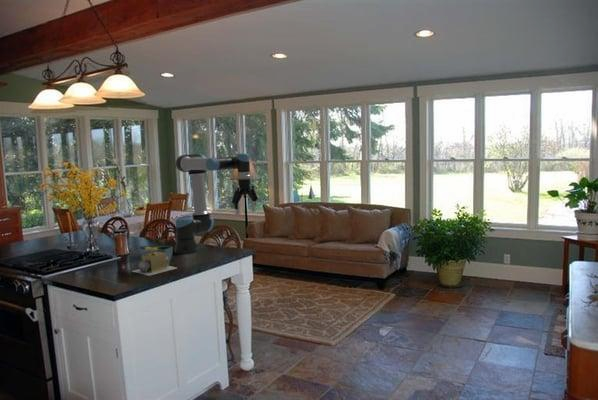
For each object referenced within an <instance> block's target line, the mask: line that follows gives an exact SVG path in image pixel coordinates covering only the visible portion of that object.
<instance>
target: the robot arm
mask: <svg viewBox="0 0 598 400" xmlns="http://www.w3.org/2000/svg"><path fill="white" fill-rule="evenodd" d="M175 168H176V169H177V170H178V171H180V172H181V173H188V176H190V181H191V190H192V201H193V212H192V213H191V215H185V216H179V217H178V218H176V220H175V235H176V243H175V246H174V247H175V248H174V253H175V254H179V255H185V254H192V253H193V254H194V253H196V252H198V251H199V247H198V245H197V242H196V240H195V235H199V234H203V233H204V234H206V233H208V232H211V231H212V230H213V228H214V225H215V224H214V223H215V221H214V218H213V216H212V215H210V212H209V211H208V208H207V207H208V206H207V197H206V196H207V195H206V184H205V175H207V171H212V172H214V171H215V172H216V171H224V170H237V178H238V179H237V184H238V187H235V188H234V194H233V197H232V200H231V203H232V204H234V209H235V215H238V216H240V215H241V214H240V213H241V211H240V210H241V209H240V203H239V202H240V201H241V199H242V197H243V195H246V194H247V196H248V197H249V199H250V200H251V201H250V205H251V206H250V208H251V210H250V211H251V212H254V213H255V212H256V202H257V201H258V200H259V198H258V195H257V192H256V191H255V185H251V166H250V154H249V153H237V154H236V156H225V157H207V156H206V155H205V154H202V153H195V154H193V153H192V154H182V155H180V156H178V157H177V158H176V160H175Z"/></svg>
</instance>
